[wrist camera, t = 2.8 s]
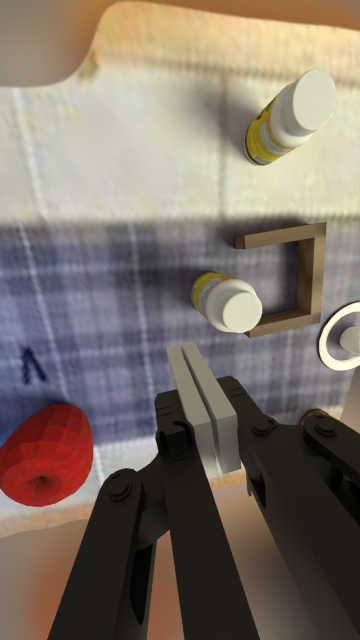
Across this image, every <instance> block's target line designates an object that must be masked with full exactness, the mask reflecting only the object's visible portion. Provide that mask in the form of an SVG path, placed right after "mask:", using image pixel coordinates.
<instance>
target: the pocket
mask: <svg viewBox="0 0 360 640" xmlns="http://www.w3.org/2000/svg"><path fill="white" fill-rule="evenodd" d="M326 224H327V222H325V223H316V224H308V225H301V226H295V227H289V228H283V229H277V230H271V231H265V232H259V233H253V234H246V235H240V236H234V241H235V249H250V248H256V247H261V246H267V245H273V244H279V243H285V242H290V241H296V240H298V268H297V306H296V309H292V310H288V311H283V312H278V313H274V314H269V315H264V316H261V318H260V320H259V322H258V323H257V324H256V326H255V327H253V328H252V329H251V330H249V331H246V332H243V333H244V334H245V335H247V336H248V337H249V338H253V337H258V336H262V335H266V334H271V333H275V332H280V331H284V330H289V329H293V328H298V327H302V326H306V325H311V324H315V323H320V317H321V301H322V286H323V270H324V255H325V239H326Z"/></svg>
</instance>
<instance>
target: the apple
mask: <svg viewBox="0 0 360 640" xmlns="http://www.w3.org/2000/svg"><path fill="white" fill-rule="evenodd" d="M92 461H93V436H92V431H91V427H90V424H89V422H88V419H87V416H86V415H85V414H84V413H83V411H82V410H81V409H79V408H77V407H75V406H73V405H69V404H55V405H49V406H47V407H45V408H43V409H42V410H40V411H38V412H37V413H36V414H34V415H33V416H31V417H30V418H29V419H27V420H26V421H24V422H23V424H22V425H21V426H20V427H19V428H18V429H17V430H16V431H15V432H14V433H13V434H12V435H11V436H10V437H9V438H8V439H7V440H6V442H5V443H4V444H3V445H2V446H1V448H0V489H1V490H2V491H3V492H4V493H5V495H6V496H8V497H9V498H11V499H12V500H14V501H15V502H18V503H21V504H24V505H26V506H34V507H43V506H47V505H51V504H55V503H57V502H59V501H61V500H63V499H65V498H66V497H68V496H70V495H72V494H73V493H75V492H76V491H77V490H78V489H79V488H80V487H81V486H82V485H83V484H84V483H85V481H86V479H87V477H88V475H89V472H90V470H91V467H92Z"/></svg>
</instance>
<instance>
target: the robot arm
mask: <svg viewBox="0 0 360 640" xmlns="http://www.w3.org/2000/svg"><path fill="white" fill-rule="evenodd" d="M181 345H182V351H183V355H182V353H181V351H180V348H179V346H178V345H174V346H169V347H166V350H167V355H168V361H169V366H170V371H171V377H172V382H173V386H174V390H171V391H167V392H163V393H159V394H157V397H156V399H155V401H154V403H155V410H156V419H157V427H158V430H157V431H156V438H155V439H156V443H157V447H158V454H157V455H156V457H155V458H154V460H153V461H152V462H151V463H150V464H148V465H147V466H146V467H144V468H142V469H141V470H139V471H138V472H136V471H135V470H134V469H129V468H125V469H121V470H118V471H116V472H114V473H113V474H111V475H110V476H109V477H108V478H107V479H106V480H105V481H104V483H103V485H102V487H101V489H100V491H99V494H98V496H97V499H96V502H95V505H94V508H93V511H92V513H91V516H90V519H89V522H88V525H87V528H86V531H85V533H84V536H83V539H82V542H81V545H80V548H79V551H78V553H77V556H76V559H75V562H74V565H73V568H72V570H71V573H70V576H69V579H68V582H67V585H66V588H65V590H64V593H63V596H62V599H61V602H60V605H59V608H58V611H57V613H56V616H55V619H54V622H53V625H52V628H51V630H50V633H49V636H48V639H47V640H147V630H148V621H149V611H150V601H151V592H152V582H153V573H154V563H155V554H156V545H157V539H159V538H160V537H161V536H162V535H163V534H165V533H166V532H167V531H168V530H170V535H171V543H172V550H173V558H174V565H175V572H176V580H177V587H178V594H179V602H180V609H181V617H182V624H183V631H184V639H185V640H260V638H259V635H258V632H257V629H256V626H255V623H254V620H253V617H252V614H251V610H250V607H249V604H248V602H247V598H246V595H245V592H244V589H243V586H242V583H241V580H240V577H239V574H238V571H237V568H236V564H235V562H234V558H233V555H232V552H231V549H230V546H229V543H228V540H227V537H226V534H225V531H224V528H223V525H222V522H221V518H220V515H219V513H218V509H217V506H216V503H215V500H214V497H213V494H212V491H211V488H210V485H209V482H208V478H211V477H215V476H218V471H217V464H216V457H217V459H218V462H219V464H220V467H221V470H222V472H223V474H225V473H228V472H231V471H235V470H238V469H241V461H242V463H243V465H244V467H245V469H246V479H247V491H248V495H249V496H251V495H252V494H251V490H252V493H253V495H254V497H255V499H256V501H257V503H258V506H259V508H260V510H261V512H262V514H263V517H264V519H265V521H266V523H267V525H268V527H269V530H270V532H271V534H272V536H273V538H274V540H275V543H276V545H277V547H278V549H279V551H280V554H281V556H282V558H283V560H284V562H285V564H286V567H287V569H288V571H289V573H290V575H291V577H292V579H293V582H294V584H295V586H296V588H297V590H298V593H299V595H300V597H301V599H302V601H303V604H304V606H305V608H306V610H307V612H308V614H309V617H310V619H311V621H312V623H313V625H314V628H315V630H316V632H317V634H318V636H319V638H320V640H360V434H359V433H358V432H356V431H354V430H353V429H351V428H350V427H348V426H347V425H345V424H343V423H342V422H340V421H339V420H337V419H335V418H333V417H331V416H327V415H323V414H313V415H310V416H308V417H307V418H305V419H304V425H283V424H279V423H278V422H277V421H275V420H274V419H273V418H271V417H269V416H267V415H264V414H263V413H262V412H261V411H260V409H259V408H258V407H257V405H256V404H255V403H254V401H253V400H252V399H251V397H250V396H249V395H248V394H247V392H246V391H245V389H244V388H243V387H242V385H241V384H240V383H239V381H238V380H236V379H235V378H233V377H231V376H226V377H222V378H218V379H215V377H214V375H213V374H212V372H211V370H210V369H209V367H208V365H207V364H206V362H205V360H204V359H203V357H202V355H201V354H200V352H199V350H198V349H197V347H196V345H195V344H194V342H193V341H192V342H187V343H183V344H181ZM215 454H216V456H215Z"/></svg>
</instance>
